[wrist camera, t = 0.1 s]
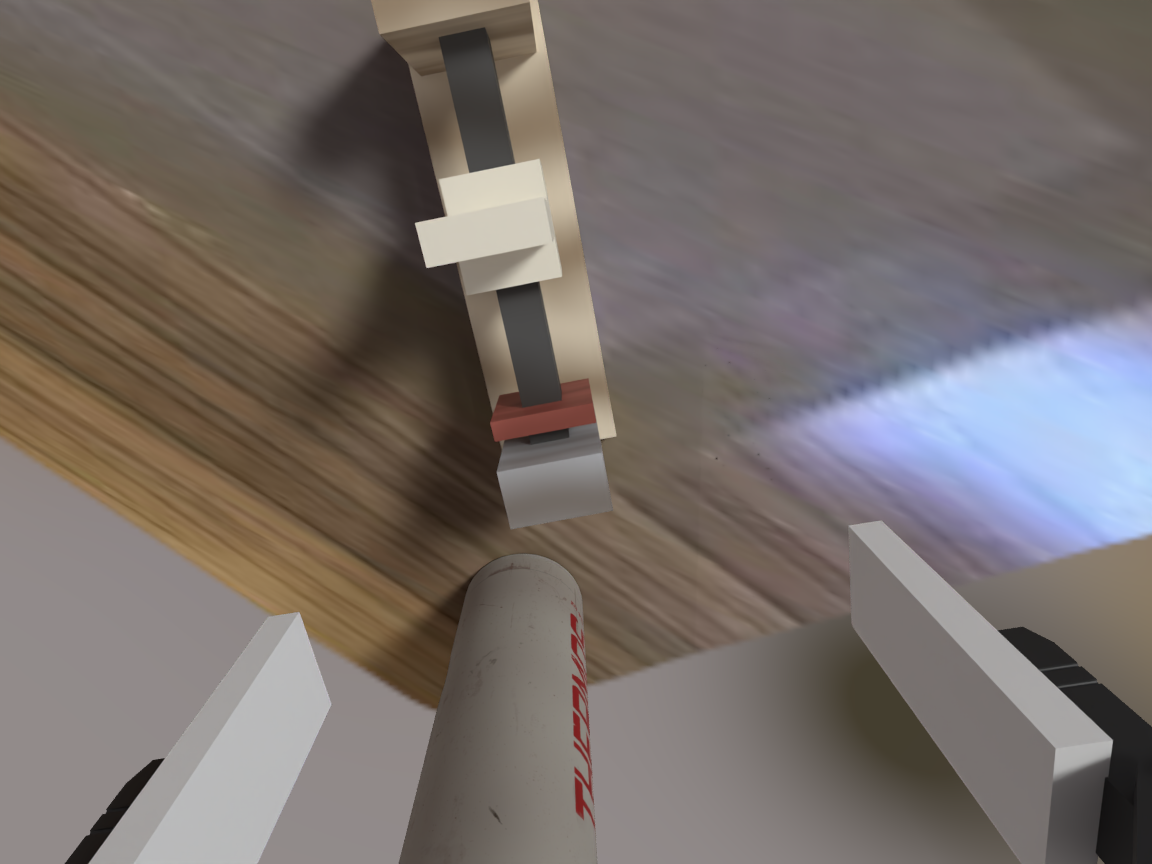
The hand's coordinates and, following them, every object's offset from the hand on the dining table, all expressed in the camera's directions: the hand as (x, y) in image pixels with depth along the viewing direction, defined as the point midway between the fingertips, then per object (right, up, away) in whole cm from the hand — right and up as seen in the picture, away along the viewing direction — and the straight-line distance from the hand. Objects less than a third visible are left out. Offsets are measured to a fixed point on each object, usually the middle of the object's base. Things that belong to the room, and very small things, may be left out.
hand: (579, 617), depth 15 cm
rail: (-3, +15, +21) cm, 26 cm away
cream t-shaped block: (-3, +15, +17) cm, 23 cm away
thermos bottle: (-4, -7, +29) cm, 30 cm away
